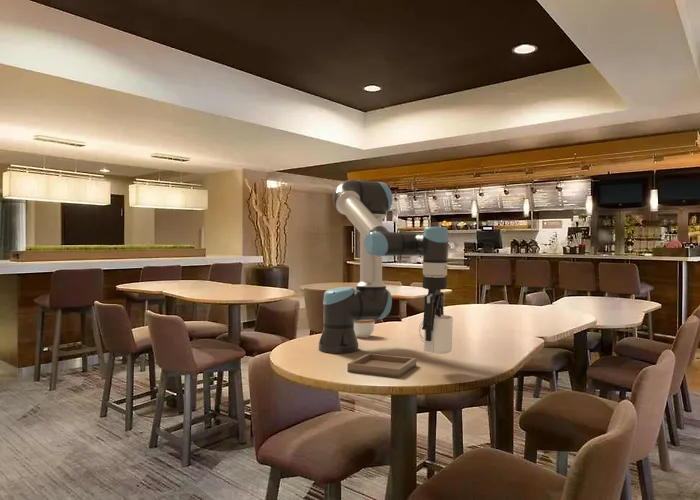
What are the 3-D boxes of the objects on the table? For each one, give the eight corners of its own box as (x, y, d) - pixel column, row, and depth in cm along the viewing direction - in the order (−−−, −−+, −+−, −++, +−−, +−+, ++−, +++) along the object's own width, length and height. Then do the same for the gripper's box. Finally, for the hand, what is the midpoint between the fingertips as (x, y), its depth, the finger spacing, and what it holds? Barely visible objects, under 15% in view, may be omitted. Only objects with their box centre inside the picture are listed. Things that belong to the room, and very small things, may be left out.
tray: (347, 371, 156) (347, 363, 156) (368, 360, 172) (368, 353, 172) (399, 377, 149) (399, 369, 149) (416, 365, 165) (416, 358, 165)
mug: (427, 344, 165) (428, 312, 165) (457, 351, 156) (458, 317, 156) (409, 348, 159) (410, 314, 159) (439, 355, 150) (440, 320, 150)
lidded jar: (347, 334, 222) (347, 313, 222) (369, 333, 226) (369, 313, 226) (354, 339, 212) (354, 317, 212) (378, 337, 215) (378, 316, 215)
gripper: (437, 279, 145) (435, 356, 146) (454, 274, 164) (452, 343, 165) (412, 277, 148) (411, 353, 149) (432, 273, 168) (430, 340, 168)
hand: (433, 348), depth 157 cm, fingers closed on mug, 9 cm apart
